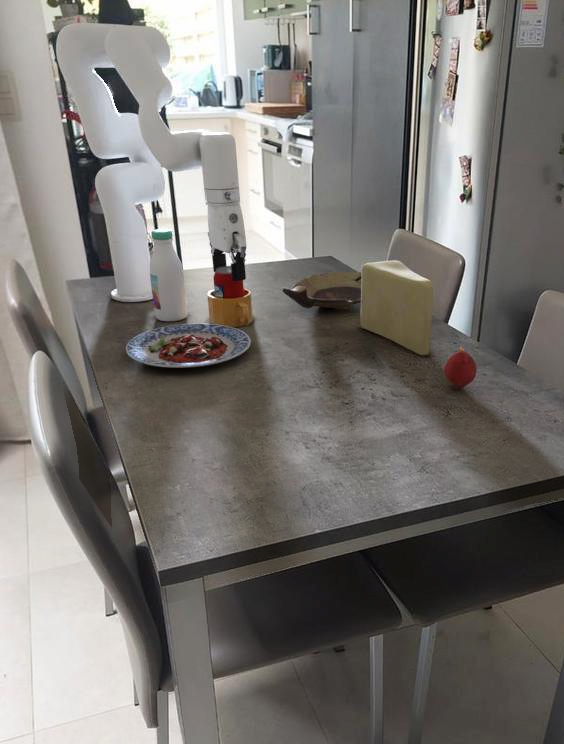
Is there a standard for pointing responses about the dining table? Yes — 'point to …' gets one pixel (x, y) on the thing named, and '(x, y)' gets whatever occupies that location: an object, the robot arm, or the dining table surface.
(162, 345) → the ceramic plate
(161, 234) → the milk bottle
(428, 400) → the dining table surface
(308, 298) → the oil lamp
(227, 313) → the mug
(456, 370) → the onion
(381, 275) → the cheese
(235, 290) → the beverage can
